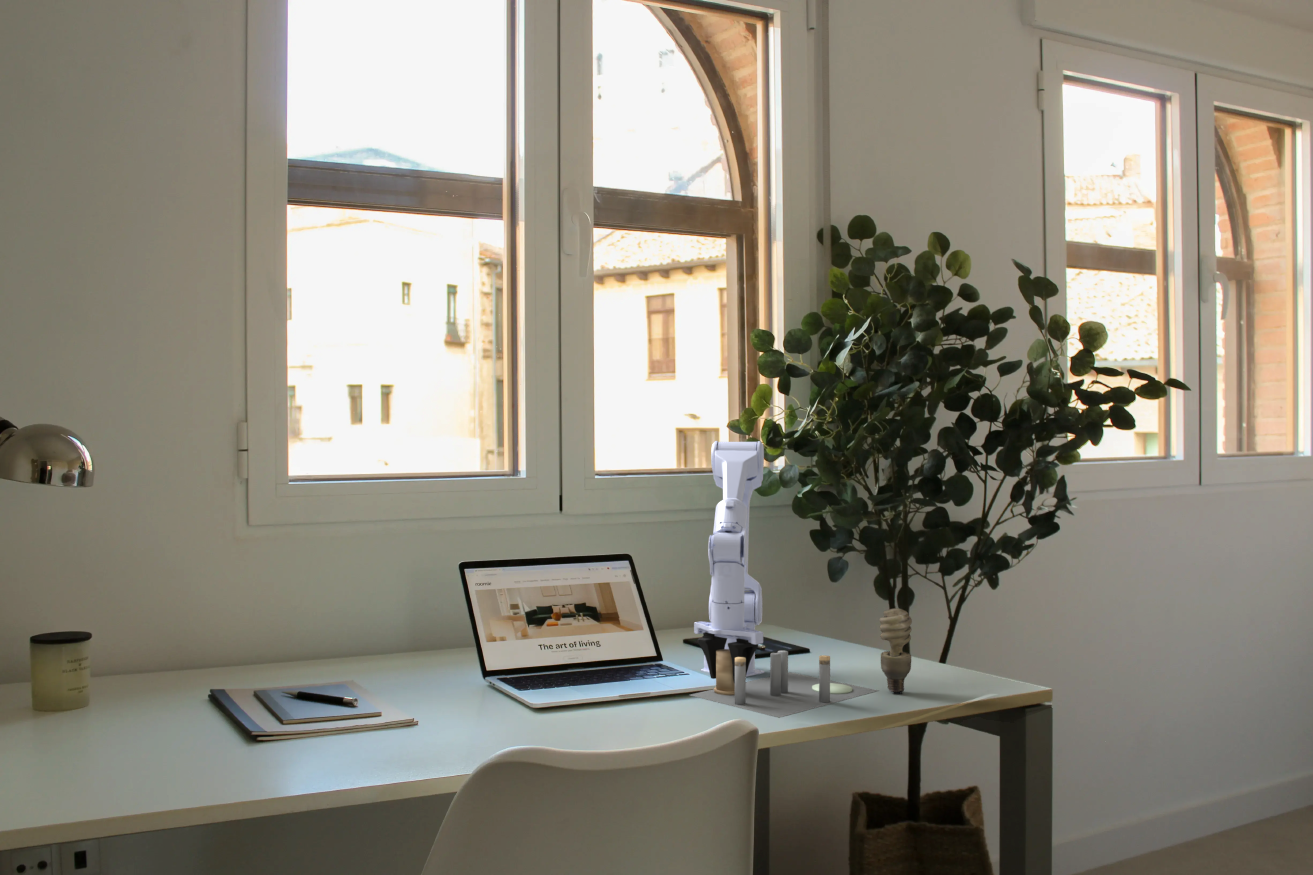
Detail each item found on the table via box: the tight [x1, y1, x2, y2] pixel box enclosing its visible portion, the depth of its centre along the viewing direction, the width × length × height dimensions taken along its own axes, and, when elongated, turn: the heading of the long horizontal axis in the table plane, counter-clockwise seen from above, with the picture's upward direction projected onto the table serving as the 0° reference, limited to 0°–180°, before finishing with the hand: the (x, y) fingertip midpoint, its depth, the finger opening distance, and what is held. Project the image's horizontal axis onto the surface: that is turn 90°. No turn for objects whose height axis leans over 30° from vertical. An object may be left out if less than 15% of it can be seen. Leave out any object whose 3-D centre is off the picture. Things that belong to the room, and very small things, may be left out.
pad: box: [812, 683, 852, 694], centre depth 180 cm, size 7×7×1 cm
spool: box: [713, 649, 735, 695], centre depth 178 cm, size 5×5×7 cm
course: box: [689, 650, 880, 719], centre depth 178 cm, size 20×27×8 cm
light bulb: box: [879, 607, 913, 695], centre depth 178 cm, size 6×6×15 cm
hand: (727, 680), depth 178 cm, fingers open, 5 cm apart
